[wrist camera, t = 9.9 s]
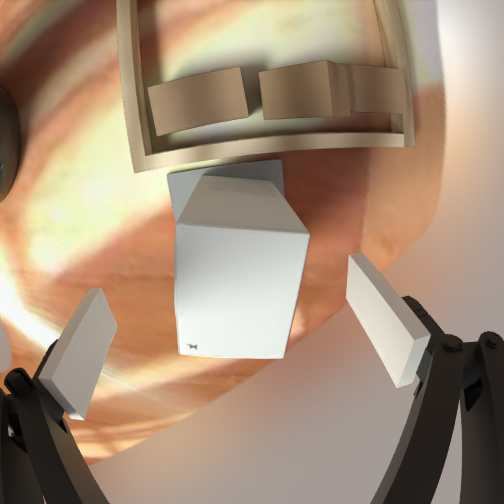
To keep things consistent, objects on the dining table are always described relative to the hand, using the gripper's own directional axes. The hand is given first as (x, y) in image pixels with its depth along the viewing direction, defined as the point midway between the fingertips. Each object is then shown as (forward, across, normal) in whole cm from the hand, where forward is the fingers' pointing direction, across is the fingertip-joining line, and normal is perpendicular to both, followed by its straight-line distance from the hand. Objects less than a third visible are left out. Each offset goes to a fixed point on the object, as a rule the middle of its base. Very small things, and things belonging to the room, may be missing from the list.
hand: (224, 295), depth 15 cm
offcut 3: (+13, +13, +10) cm, 21 cm away
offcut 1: (+14, -1, +10) cm, 17 cm away
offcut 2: (+11, +8, +10) cm, 17 cm away
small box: (+13, +1, -1) cm, 13 cm away
